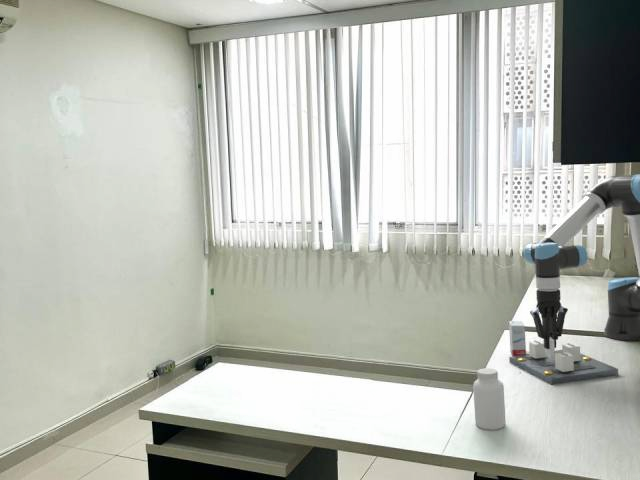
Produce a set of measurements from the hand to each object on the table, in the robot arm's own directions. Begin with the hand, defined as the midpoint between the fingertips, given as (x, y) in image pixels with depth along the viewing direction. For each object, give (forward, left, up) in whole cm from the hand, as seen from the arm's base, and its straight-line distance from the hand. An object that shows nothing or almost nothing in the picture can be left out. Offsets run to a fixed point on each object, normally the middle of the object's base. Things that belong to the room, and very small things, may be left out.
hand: (550, 357), depth 204 cm
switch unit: (-4, 0, -4) cm, 6 cm away
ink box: (0, -21, -5) cm, 21 cm away
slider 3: (0, +8, -2) cm, 8 cm away
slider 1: (0, -8, -2) cm, 8 cm away
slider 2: (-8, 0, -2) cm, 8 cm away
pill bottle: (+40, +34, -5) cm, 53 cm away
